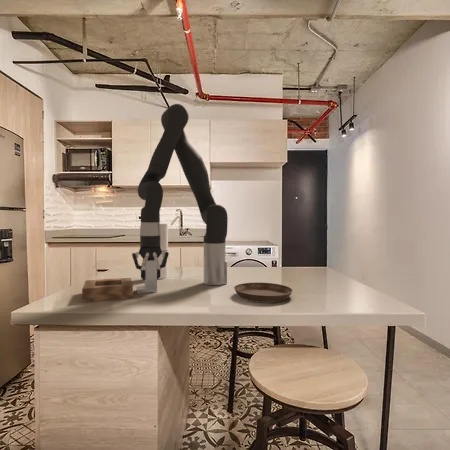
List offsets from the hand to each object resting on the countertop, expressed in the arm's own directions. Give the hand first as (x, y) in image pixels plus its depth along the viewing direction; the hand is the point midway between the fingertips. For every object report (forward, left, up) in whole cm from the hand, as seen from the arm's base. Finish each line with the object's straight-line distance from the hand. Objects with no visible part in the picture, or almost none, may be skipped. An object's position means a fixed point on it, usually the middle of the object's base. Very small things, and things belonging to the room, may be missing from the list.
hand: (150, 279), depth 120 cm
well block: (+15, +2, -5) cm, 16 cm away
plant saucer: (-37, +21, -5) cm, 43 cm away
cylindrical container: (-7, -25, -5) cm, 26 cm away
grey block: (+1, 0, -5) cm, 5 cm away
